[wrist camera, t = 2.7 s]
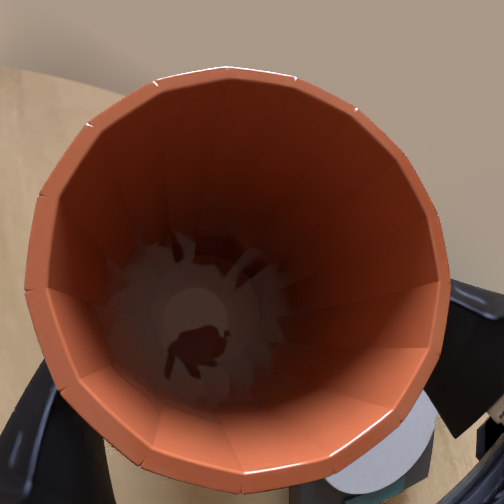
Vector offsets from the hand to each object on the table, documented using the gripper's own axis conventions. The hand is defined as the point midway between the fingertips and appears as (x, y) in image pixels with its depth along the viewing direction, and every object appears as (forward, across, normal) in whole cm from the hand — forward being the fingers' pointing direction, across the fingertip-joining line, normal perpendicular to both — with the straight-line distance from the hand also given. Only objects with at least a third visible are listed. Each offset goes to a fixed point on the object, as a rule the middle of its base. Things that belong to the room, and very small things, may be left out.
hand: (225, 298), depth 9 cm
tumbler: (+6, 0, +6) cm, 8 cm away
